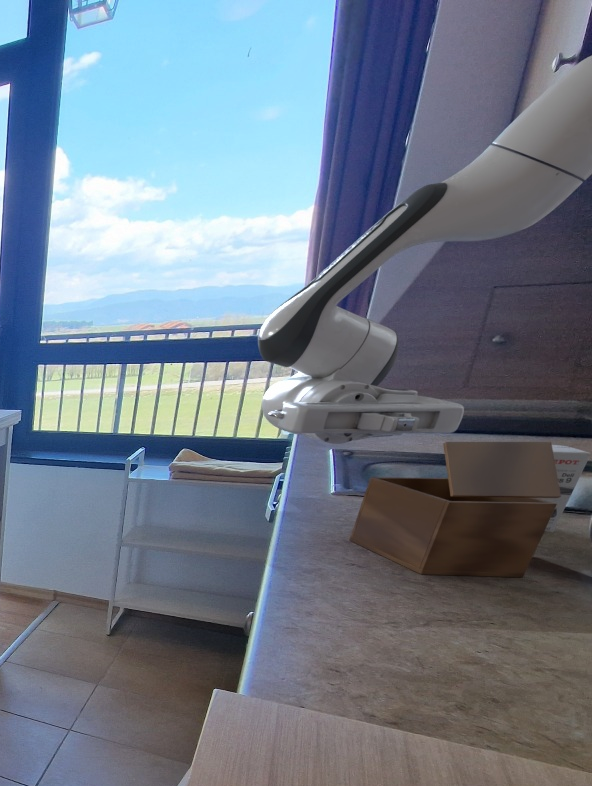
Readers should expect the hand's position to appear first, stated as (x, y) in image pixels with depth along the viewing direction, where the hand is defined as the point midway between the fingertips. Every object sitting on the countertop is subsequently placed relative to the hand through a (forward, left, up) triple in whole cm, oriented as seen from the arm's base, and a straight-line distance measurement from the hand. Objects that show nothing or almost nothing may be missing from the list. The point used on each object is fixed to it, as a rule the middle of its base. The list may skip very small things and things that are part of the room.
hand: (405, 425), depth 81 cm
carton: (0, +11, -14) cm, 18 cm away
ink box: (-15, +1, -15) cm, 21 cm away
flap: (0, +16, -3) cm, 16 cm away
